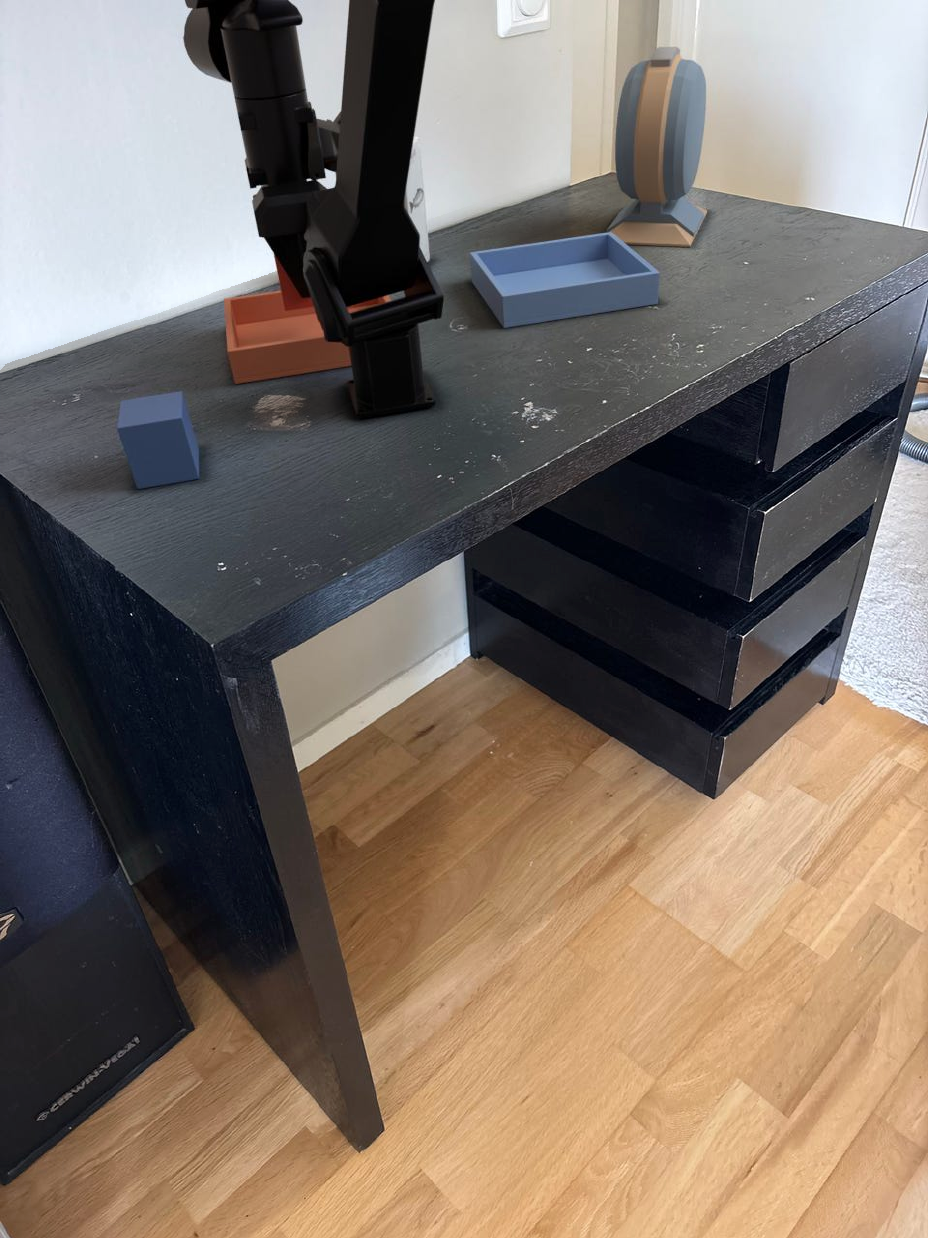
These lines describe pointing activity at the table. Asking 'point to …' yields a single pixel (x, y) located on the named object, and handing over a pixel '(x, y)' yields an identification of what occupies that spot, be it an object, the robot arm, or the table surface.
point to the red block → (290, 291)
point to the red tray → (279, 338)
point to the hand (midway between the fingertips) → (305, 288)
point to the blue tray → (563, 279)
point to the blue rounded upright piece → (660, 150)
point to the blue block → (158, 439)
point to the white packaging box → (417, 197)
